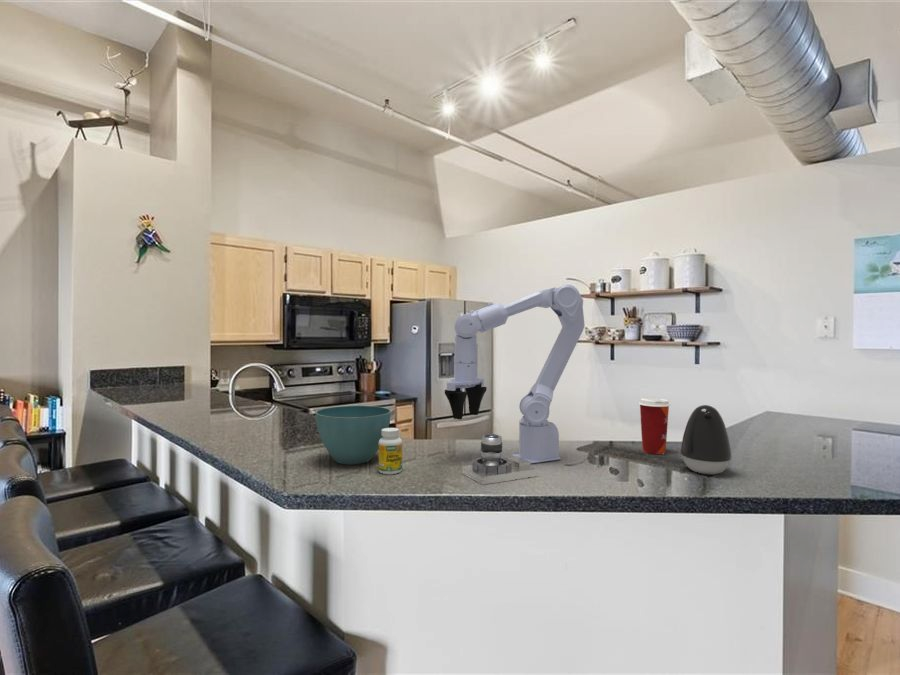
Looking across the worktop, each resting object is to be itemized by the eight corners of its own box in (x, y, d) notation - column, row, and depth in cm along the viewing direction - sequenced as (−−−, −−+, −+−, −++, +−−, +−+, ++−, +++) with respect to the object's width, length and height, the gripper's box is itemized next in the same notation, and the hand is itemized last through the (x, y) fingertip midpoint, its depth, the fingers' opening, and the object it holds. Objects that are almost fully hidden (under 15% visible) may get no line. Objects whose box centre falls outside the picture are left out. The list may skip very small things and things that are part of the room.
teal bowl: (383, 449, 131) (383, 403, 131) (397, 466, 114) (397, 414, 114) (313, 454, 125) (313, 407, 125) (317, 473, 108) (317, 418, 108)
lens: (505, 467, 108) (506, 435, 107) (494, 472, 104) (495, 439, 103) (487, 463, 110) (488, 432, 110) (476, 468, 106) (477, 435, 106)
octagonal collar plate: (514, 466, 115) (514, 452, 115) (537, 476, 107) (537, 461, 107) (462, 473, 109) (462, 459, 109) (482, 484, 101) (482, 469, 100)
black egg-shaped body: (683, 475, 108) (683, 407, 107) (678, 463, 117) (679, 401, 117) (735, 480, 104) (736, 409, 104) (726, 467, 114) (727, 403, 114)
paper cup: (674, 455, 125) (675, 401, 125) (644, 455, 125) (645, 401, 125) (662, 448, 133) (662, 397, 132) (633, 448, 133) (634, 397, 132)
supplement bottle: (395, 466, 114) (395, 426, 114) (406, 472, 109) (406, 430, 109) (374, 470, 111) (374, 428, 111) (384, 476, 106) (384, 432, 106)
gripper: (467, 360, 130) (467, 411, 130) (436, 363, 118) (436, 419, 118) (490, 361, 126) (490, 413, 126) (460, 364, 114) (460, 422, 114)
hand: (466, 416), depth 122 cm, fingers open, 7 cm apart
